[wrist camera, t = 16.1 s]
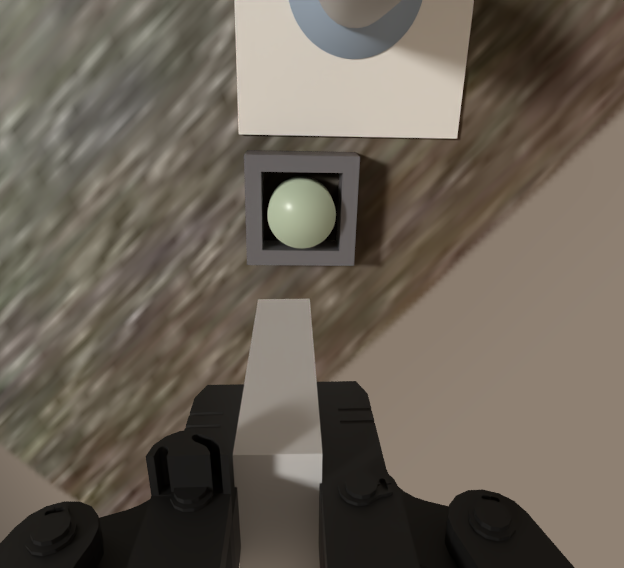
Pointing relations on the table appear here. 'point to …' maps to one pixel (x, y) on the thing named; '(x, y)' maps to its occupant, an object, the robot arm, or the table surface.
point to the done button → (301, 212)
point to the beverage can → (357, 11)
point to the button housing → (310, 162)
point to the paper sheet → (351, 70)
